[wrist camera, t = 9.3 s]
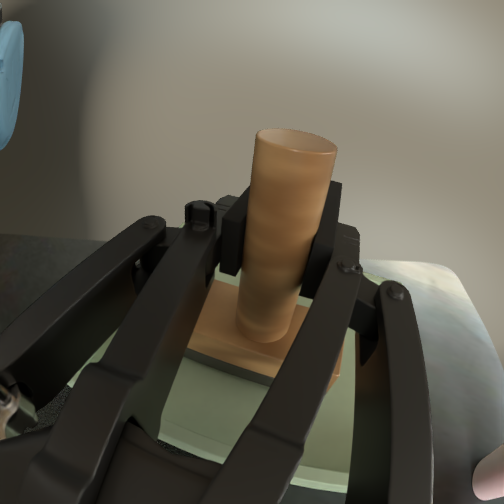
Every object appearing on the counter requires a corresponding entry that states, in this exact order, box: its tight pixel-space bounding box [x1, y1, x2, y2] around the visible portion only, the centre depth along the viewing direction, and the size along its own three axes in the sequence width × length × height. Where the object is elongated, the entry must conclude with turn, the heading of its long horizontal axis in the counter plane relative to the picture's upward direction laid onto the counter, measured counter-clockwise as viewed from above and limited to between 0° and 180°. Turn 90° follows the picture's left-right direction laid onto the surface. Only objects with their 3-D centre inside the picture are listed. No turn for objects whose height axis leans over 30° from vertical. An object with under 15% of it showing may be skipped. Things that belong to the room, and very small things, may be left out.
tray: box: [67, 223, 402, 493], centre depth 18 cm, size 20×17×2 cm
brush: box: [183, 128, 345, 395], centre depth 13 cm, size 9×4×12 cm, turn 72°
